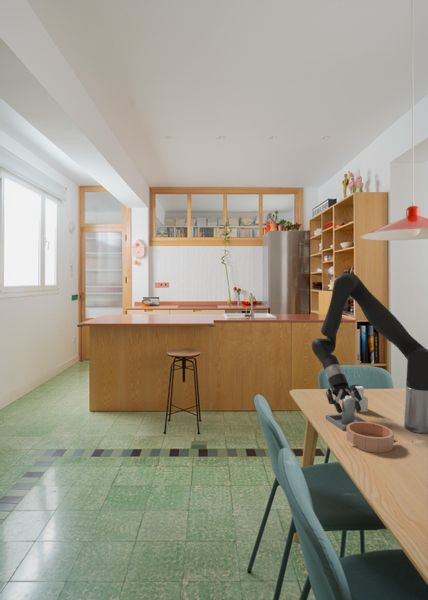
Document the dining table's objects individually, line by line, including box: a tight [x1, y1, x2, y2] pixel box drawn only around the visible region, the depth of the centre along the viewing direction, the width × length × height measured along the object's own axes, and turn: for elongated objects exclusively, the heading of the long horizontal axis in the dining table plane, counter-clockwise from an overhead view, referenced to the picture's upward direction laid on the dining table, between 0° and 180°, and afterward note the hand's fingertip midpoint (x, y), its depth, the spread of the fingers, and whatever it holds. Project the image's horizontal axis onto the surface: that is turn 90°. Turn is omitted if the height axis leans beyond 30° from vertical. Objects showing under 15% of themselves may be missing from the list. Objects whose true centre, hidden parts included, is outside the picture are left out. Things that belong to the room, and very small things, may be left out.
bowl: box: [345, 421, 395, 454], centre depth 149 cm, size 16×16×5 cm
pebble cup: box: [341, 396, 356, 425], centre depth 165 cm, size 5×5×11 cm
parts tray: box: [325, 413, 368, 431], centre depth 166 cm, size 13×13×2 cm
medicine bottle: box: [349, 384, 369, 413], centre depth 183 cm, size 7×7×12 cm
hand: (350, 411), depth 164 cm, fingers open, 8 cm apart
